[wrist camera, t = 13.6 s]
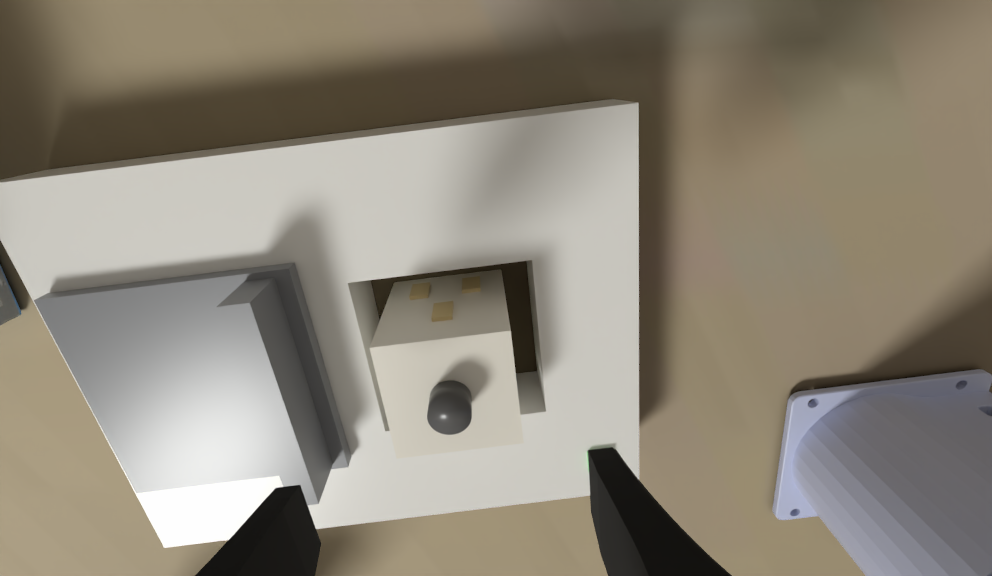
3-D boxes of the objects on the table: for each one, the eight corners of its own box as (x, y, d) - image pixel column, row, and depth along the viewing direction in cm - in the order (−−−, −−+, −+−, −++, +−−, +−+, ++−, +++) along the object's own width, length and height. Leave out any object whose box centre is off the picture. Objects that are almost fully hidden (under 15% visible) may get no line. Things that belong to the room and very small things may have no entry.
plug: (500, 265, 21) (512, 342, 15) (512, 361, 23) (526, 463, 17) (393, 278, 21) (361, 360, 15) (413, 372, 23) (392, 479, 17)
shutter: (294, 262, 17) (265, 292, 15) (351, 456, 20) (335, 507, 18) (48, 293, 17) (-22, 328, 15) (145, 481, 20) (101, 535, 18)
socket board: (613, 98, 18) (641, 103, 15) (620, 442, 25) (641, 494, 21) (47, 169, 18) (-38, 188, 15) (198, 495, 25) (160, 553, 22)
